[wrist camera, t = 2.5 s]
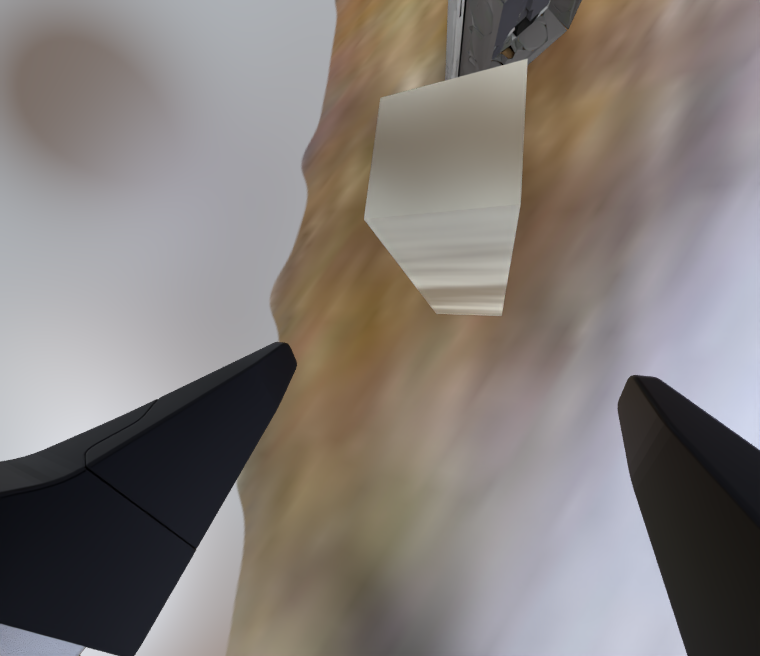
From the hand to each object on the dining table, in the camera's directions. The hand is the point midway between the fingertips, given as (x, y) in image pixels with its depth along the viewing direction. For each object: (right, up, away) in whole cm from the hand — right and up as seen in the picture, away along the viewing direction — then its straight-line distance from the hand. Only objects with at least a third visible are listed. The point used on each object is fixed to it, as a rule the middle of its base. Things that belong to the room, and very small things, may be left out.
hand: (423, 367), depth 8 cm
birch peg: (+5, +4, +12) cm, 14 cm away
